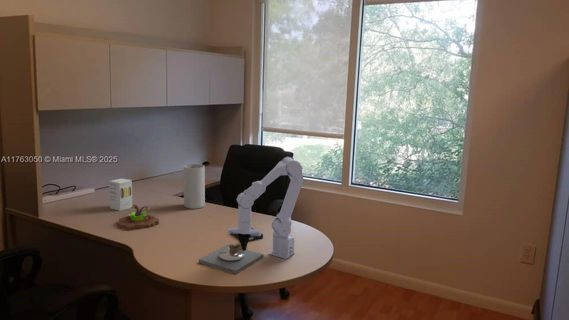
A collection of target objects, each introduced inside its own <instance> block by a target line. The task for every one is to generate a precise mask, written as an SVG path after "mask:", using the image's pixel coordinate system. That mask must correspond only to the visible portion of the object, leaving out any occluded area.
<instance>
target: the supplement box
mask: <svg viewBox="0 0 569 320" xmlns="http://www.w3.org/2000/svg"><path fill="white" fill-rule="evenodd" d="M108 190H109V194H108V195H109V209H111V210H115V211H119V212H121V211H124V210H128V209H133V208H132V207H131V206H132V205H133V182H132V179H126V178H123V177H122V178H121V177H120V178H118V179H117V178H116V179H113V180H108Z"/></svg>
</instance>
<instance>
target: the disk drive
mask: <svg viewBox="0 0 569 320" xmlns="http://www.w3.org/2000/svg"><path fill="white" fill-rule="evenodd" d="M251 229H254V228H253V227H251ZM230 234H232V235H233V236H235V237H236V238H238V237H237V236H238V234H235V233H230ZM263 238H264V234H263V233H262V232H261V236H256V235H251V237H250V239H249V241H248V243H249V242H253V241H257V240H261V239H262V240H263Z"/></svg>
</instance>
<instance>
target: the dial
mask: <svg viewBox="0 0 569 320" xmlns="http://www.w3.org/2000/svg"><path fill="white" fill-rule="evenodd" d="M228 245H229V248H230V249H226V250H223V251H221V252H220V253H219V258H220V259H221V260H223V261H229V262H233V261H239V260H241V259H243V258H244V252H243V251H242V247H241V244H240V241H239V242H237V243H235V244H232V243H231V244H228Z"/></svg>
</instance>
